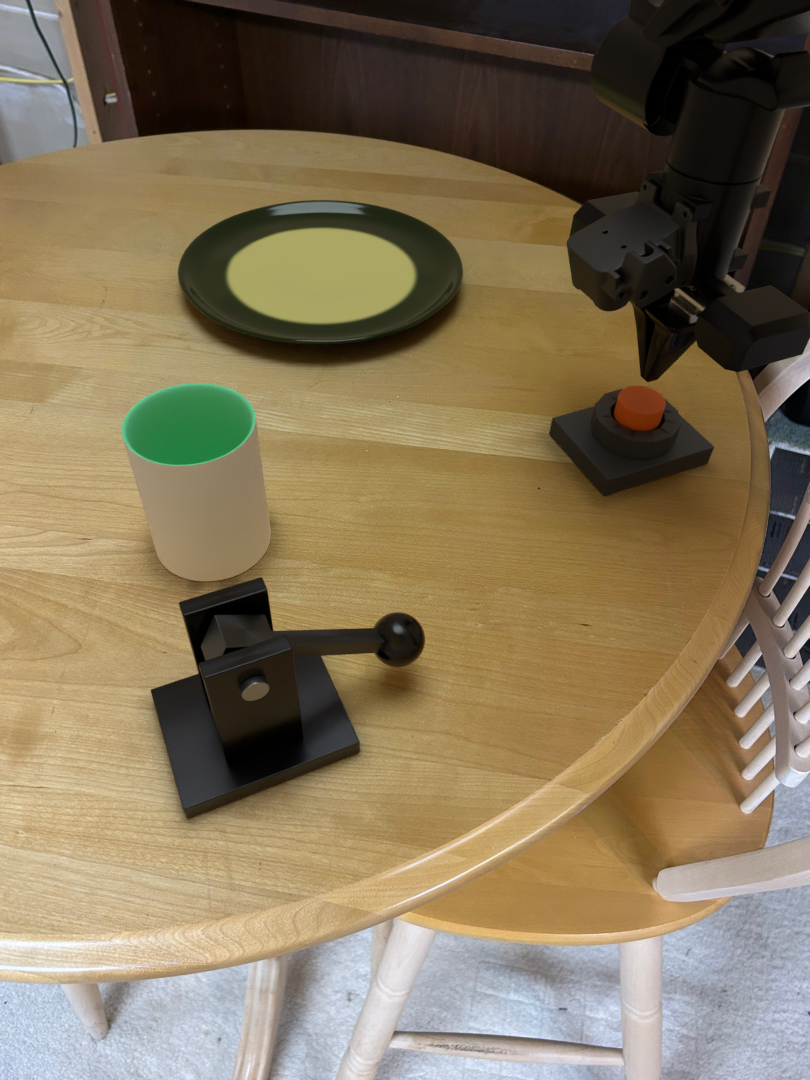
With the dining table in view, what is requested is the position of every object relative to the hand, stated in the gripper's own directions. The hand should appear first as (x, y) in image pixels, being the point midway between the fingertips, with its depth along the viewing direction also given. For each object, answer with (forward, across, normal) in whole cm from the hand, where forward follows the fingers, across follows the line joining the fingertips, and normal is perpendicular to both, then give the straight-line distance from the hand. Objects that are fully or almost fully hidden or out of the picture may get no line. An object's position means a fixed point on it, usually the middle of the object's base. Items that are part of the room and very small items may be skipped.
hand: (649, 378), depth 60 cm
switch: (+7, +12, -35) cm, 38 cm away
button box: (+7, 0, 0) cm, 7 cm away
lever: (+3, +12, -31) cm, 34 cm away
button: (+4, 0, 0) cm, 4 cm away
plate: (+7, -33, -14) cm, 37 cm away
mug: (+7, -5, -33) cm, 34 cm away
